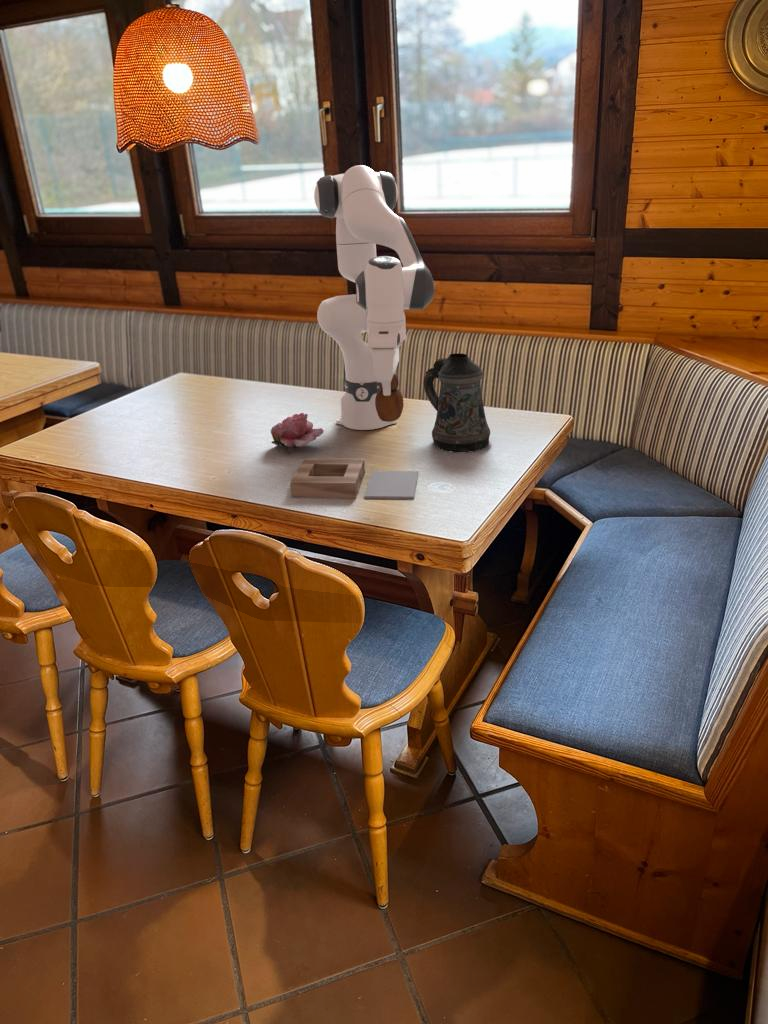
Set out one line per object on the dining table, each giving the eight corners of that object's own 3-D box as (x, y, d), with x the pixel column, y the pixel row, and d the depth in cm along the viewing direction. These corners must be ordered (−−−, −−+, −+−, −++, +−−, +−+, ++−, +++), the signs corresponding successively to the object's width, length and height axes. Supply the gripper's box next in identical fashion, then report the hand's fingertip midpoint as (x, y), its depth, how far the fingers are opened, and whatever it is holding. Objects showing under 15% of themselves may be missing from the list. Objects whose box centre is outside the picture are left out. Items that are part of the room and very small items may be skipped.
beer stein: (487, 454, 206) (489, 363, 195) (417, 451, 210) (415, 363, 199) (492, 433, 220) (494, 348, 210) (426, 431, 224) (425, 348, 213)
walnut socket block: (305, 472, 199) (303, 458, 197) (365, 472, 197) (364, 458, 195) (291, 497, 185) (290, 482, 183) (356, 498, 183) (355, 483, 181)
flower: (332, 431, 219) (318, 400, 215) (315, 455, 207) (300, 423, 203) (288, 441, 225) (275, 412, 221) (269, 465, 213) (255, 435, 209)
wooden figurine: (389, 413, 186) (387, 353, 179) (407, 418, 182) (406, 356, 176) (371, 421, 181) (368, 359, 174) (390, 425, 178) (387, 362, 171)
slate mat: (372, 472, 197) (372, 470, 197) (418, 473, 195) (418, 471, 195) (364, 498, 182) (364, 496, 182) (413, 498, 181) (413, 496, 181)
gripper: (378, 322, 182) (380, 378, 188) (367, 342, 164) (370, 403, 170) (404, 322, 182) (405, 378, 187) (396, 342, 163) (397, 403, 169)
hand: (388, 390), depth 179 cm, fingers closed on wooden figurine, 5 cm apart
